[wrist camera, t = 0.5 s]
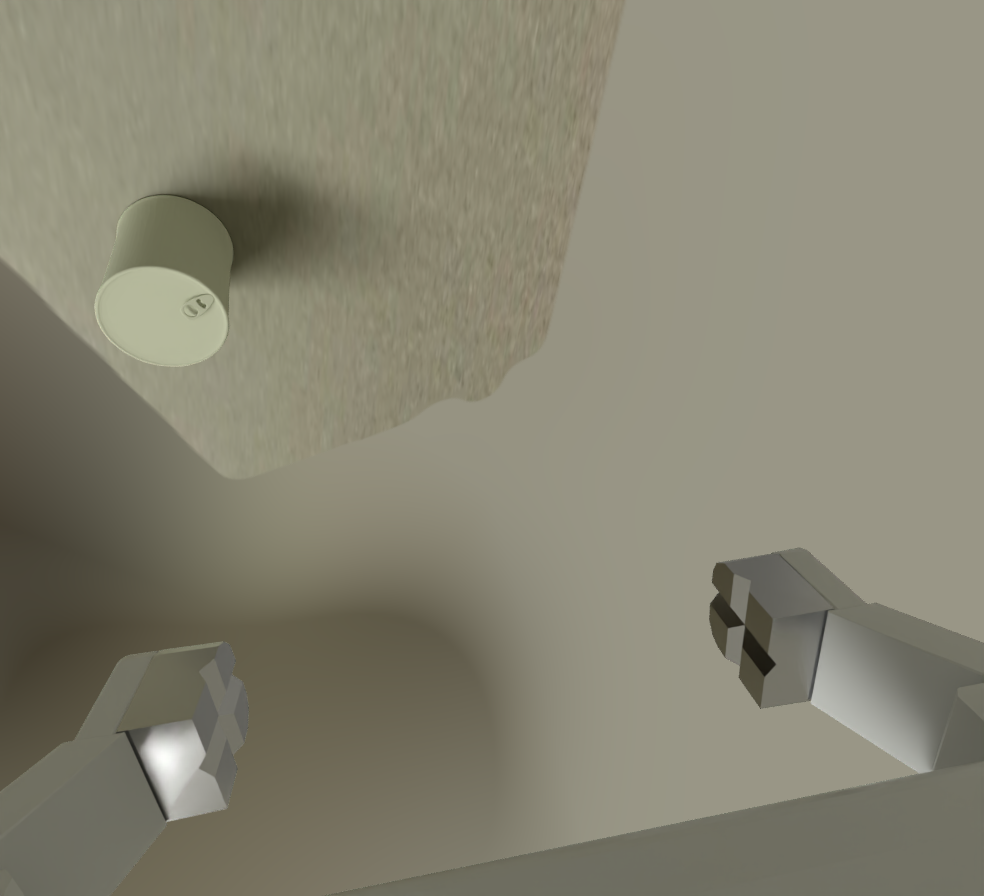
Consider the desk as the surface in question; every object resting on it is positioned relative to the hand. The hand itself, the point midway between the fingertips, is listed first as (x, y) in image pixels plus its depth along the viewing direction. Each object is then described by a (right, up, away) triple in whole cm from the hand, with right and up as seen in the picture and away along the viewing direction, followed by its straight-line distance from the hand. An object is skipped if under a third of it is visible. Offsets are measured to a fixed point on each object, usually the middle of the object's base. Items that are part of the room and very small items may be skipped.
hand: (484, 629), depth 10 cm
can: (-28, +21, +44) cm, 57 cm away
